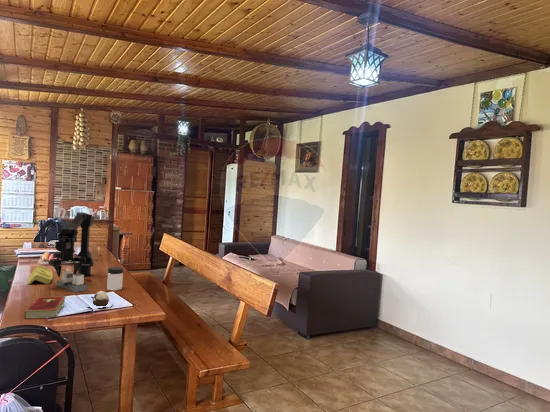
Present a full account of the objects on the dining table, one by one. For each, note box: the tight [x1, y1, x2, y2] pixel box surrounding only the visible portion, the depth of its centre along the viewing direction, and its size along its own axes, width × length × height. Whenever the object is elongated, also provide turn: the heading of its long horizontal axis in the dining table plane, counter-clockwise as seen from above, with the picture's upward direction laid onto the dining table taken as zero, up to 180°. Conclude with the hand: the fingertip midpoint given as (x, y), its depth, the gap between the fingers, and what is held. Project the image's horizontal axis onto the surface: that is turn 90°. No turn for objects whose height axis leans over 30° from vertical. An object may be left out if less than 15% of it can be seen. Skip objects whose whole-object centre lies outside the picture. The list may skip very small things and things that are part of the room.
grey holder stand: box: [56, 273, 88, 293], centre depth 220 cm, size 7×18×8 cm, turn 59°
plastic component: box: [27, 265, 54, 285], centre depth 231 cm, size 20×7×10 cm
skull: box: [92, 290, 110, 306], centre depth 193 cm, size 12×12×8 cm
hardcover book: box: [23, 296, 66, 319], centre depth 181 cm, size 12×21×4 cm, turn 17°
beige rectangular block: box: [60, 270, 74, 283], centre depth 223 cm, size 4×5×7 cm
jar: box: [106, 266, 124, 291], centre depth 226 cm, size 9×8×12 cm
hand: (66, 275), depth 223 cm, fingers open, 9 cm apart
